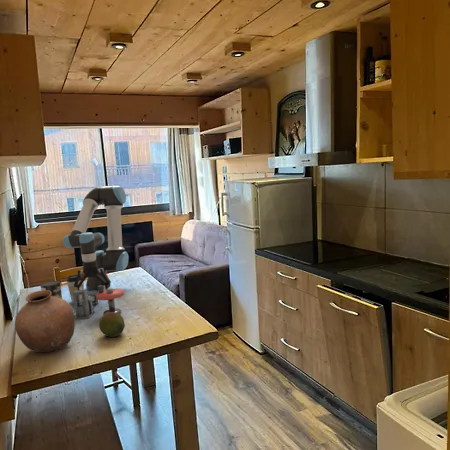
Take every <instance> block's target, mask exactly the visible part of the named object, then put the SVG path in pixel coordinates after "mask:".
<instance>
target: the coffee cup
mask: <svg viewBox="0 0 450 450" xmlns="http://www.w3.org/2000/svg"><path fill="white" fill-rule="evenodd" d="M77 275H78V274H74V275H69V276H68V278H66V282H67V287H68V293H69V295H70V296H69V297H70V299H71V303H74V297H73V292H74V291H76V290H78V288H77V287H74V283H75V281H76V278H77ZM83 277H84V276H82V275H81V276H80V279H79V282H78V284H79V283H80V281H81V280H82V279H83ZM80 287H82V289H83V290H84V289H85V288H84V287H85V286H84V282H83V283H82V285H81V286H80ZM82 301H83V300H81V298H80V295H79V303H81V302H82Z"/></svg>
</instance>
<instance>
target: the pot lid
mask: <svg viewBox="0 0 450 450" xmlns="http://www.w3.org/2000/svg"><path fill="white" fill-rule="evenodd" d="M97 287H98V290H97V293H96V299H98V301H108V300H111V299H114V300H115V299H116V300H117V299H119V298H122V297H123V296H124V295H125V290H124V289H123V288H113V287H108V289H106V290H104V289H103V285H99V286H97Z"/></svg>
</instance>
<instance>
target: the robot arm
mask: <svg viewBox="0 0 450 450" xmlns="http://www.w3.org/2000/svg"><path fill="white" fill-rule="evenodd" d="M126 200H127V194H126V192H125V189H124V188H123V187H122V186H121V185H106V186H97V187H95V188H93V189H91V190H90V191H89V192H88V193H87V194H86V195H85V197H84V198H83V200H82V207H81V208H80V212H79V213H78V215H77V218H76V221H75V223H74V225H73V227H72V230H71V232H70V234H67V235H65V236H64V237H63V241H62V244H63V246H64V247H65V248H67V249H74V248H75V249H77V248H80V255H81V260H82V269H78V271H77V274H76V275H77V278H76V281H75V283H74V287H77V288H78V290H83V289H82V287H80V286H81V285H82V283H84V282H85V281H86V284H85V289H86V290H87V291H98V287H97V286H99V285H103V289H104V290H106V289H108V288H110V287H111V284H112V281H111V279H110V278H109V276H108V274H107V272H115V271H117V272H118V271H124V270H126V268H127V266H128V265H129V257H130V256H129V253H128V252H127V251H125V250H126V249H125V247H123V235H122V234H123V233H122V230H123V229H122V212H121V211H122V208H123V207H124V204H125V203H126V202H127V201H126ZM102 205H103V207H104V208H105V210H106V217H107V218H106V220H107V221H106V223H107V225H106V226H107V244H108V245H107V246H108V247H107V248H106V250H105V251H104V250H100V249H99V250H96V248H97V247H100V246H102V244H104V242H105V240H106V239H105V236H104V234H103V233H101V232H94V233H93V232H92V231H91V232H87V230H88V229H89V228H88V227H89V226H90V223H91V220H92V217H93V216H94V214H95V213H94V212H95V211H96V210H97V209H98V207H99V206H102ZM82 274H84V276H82ZM80 276H82V277H83V279H82V280H81V281H80V283H79V284H78V282H79V279H80ZM80 298H81V299H82V295H80Z"/></svg>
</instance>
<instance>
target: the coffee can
mask: <svg viewBox="0 0 450 450" xmlns="http://www.w3.org/2000/svg"><path fill="white" fill-rule="evenodd" d="M39 286H40V291H42V290H49V291H51V296H53V297H58V298H61V299H63V294H62V286H61V280H60V281H59V280H51V281H45V282H42V283H40V285H39Z"/></svg>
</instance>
